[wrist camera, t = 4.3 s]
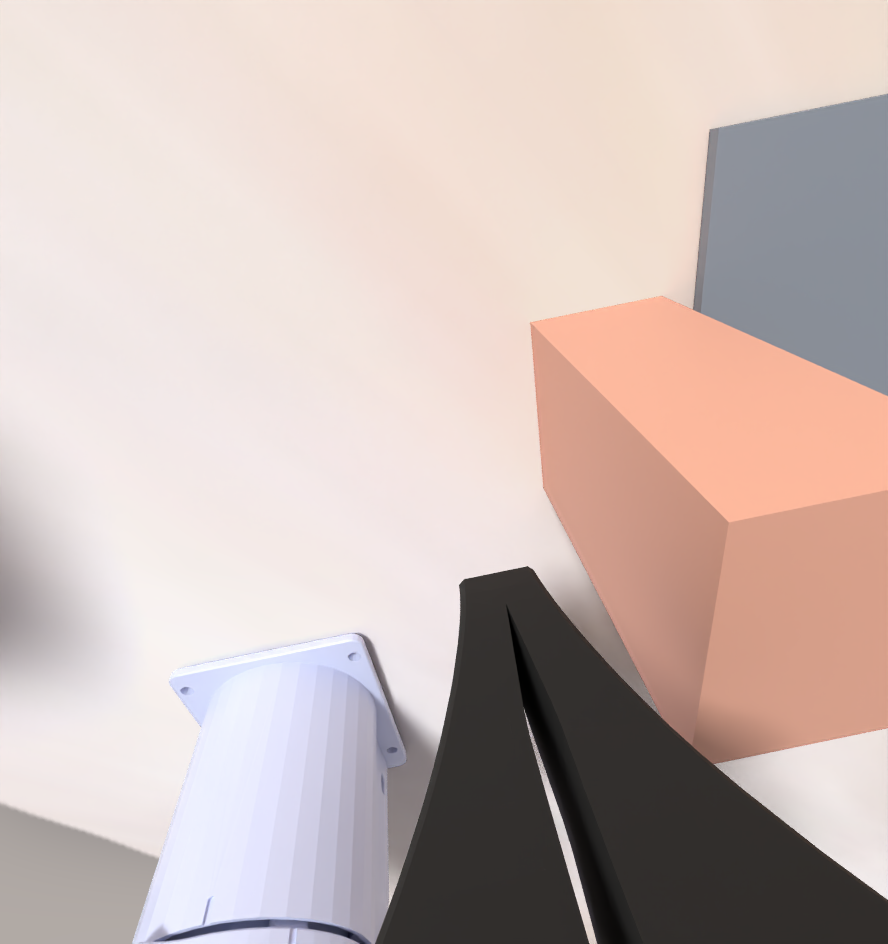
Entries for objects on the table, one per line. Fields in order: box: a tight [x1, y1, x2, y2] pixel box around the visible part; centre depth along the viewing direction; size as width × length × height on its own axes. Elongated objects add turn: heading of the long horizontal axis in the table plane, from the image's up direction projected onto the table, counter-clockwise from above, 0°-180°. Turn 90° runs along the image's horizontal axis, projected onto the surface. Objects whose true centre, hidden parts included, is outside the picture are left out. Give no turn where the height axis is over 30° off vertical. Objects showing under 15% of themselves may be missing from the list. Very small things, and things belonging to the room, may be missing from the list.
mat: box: [693, 94, 888, 396], centre depth 16 cm, size 14×12×1 cm
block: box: [530, 296, 888, 764], centre depth 12 cm, size 6×4×10 cm, turn 10°
